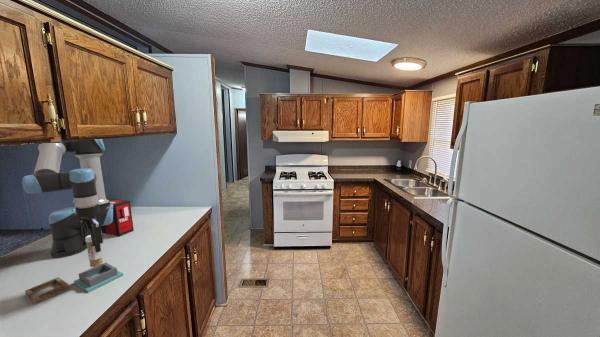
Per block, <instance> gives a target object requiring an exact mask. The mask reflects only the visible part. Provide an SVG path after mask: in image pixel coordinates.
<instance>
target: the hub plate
mask: <svg viewBox="0 0 600 337" xmlns="http://www.w3.org/2000/svg"><path fill="white" fill-rule="evenodd" d="M123 276H124V273H123V272H122V271H119V270H118V269H117V267H115V266H113V265H111V264H109V263H107V262H103V263H102V264H101V265H99V266H96V267H91V268H89V269H87V270H85V271H82V272H79V273H78V278H77V279H75V280H73V283H74V284H75V285H76V286H78V287H79V288H81V289H82V290H84V291H85V292H86V293H91V292H93V291H95V290H97V289H99V288H101V287H102V286H105V285H107V284H109V283H111V282H114V280H117V279H119V278H121V277H123Z"/></svg>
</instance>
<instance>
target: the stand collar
mask: <svg viewBox="0 0 600 337" xmlns="http://www.w3.org/2000/svg"><path fill="white" fill-rule="evenodd" d="M54 285H58V286H57V287H55V288H53V289H49V290H48V291H45V292H42V294H39V295H37V294H36V293H38V292H40V291H42V290H45V289H48V288H49V287H51V286H52V287H53V286H54ZM68 289H70V286H69V283H67V282H66V281H65V280H63V279H62V278H60V277H59V276H58V277H55V278H53V279H51V280H47V281H46V282H43V283H40V284H38V285H36V286H33V287H31V288H28V289H26V290H24V292H25V296H26V297H27V298H29V300H31V302H33V303H34V304H38V303H40V302H43V301H44V300H46V299H49V298H51V297H53V296H55V295H57V294H60V293H62V292H64V291H65V290H68Z"/></svg>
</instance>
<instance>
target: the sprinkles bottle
mask: <svg viewBox="0 0 600 337" xmlns="http://www.w3.org/2000/svg"><path fill="white" fill-rule="evenodd" d="M85 240H86V243H87V257H88V261H89V267H91V268H94V267H96V266H99V265H101V264H103V263H104V261H103V257H102V258H99V259H97V260H94V255H93V249H92V247H91V245H93V243H92V239H91V235H89V236H87V237H85Z"/></svg>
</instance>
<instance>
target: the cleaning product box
mask: <svg viewBox="0 0 600 337" xmlns="http://www.w3.org/2000/svg"><path fill="white" fill-rule="evenodd" d="M108 200H109V201H110V204H113V222H112V223H111V224H108V225H104V226H101V232H102V234H107V235H111V236H115V237H122V236H124V235H127V234H129V233H132V232H134V231H135V229H134V223H133V214H132V207H131V201H130V200H125V199H118V198H109V199H108Z"/></svg>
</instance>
